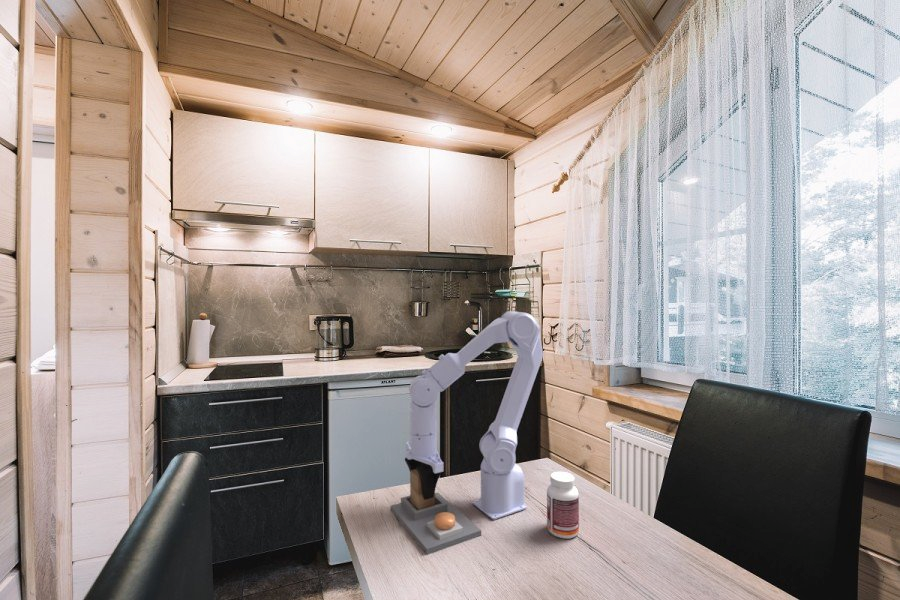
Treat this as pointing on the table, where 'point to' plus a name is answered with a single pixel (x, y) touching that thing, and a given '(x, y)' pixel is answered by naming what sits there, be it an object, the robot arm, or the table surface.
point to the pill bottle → (562, 506)
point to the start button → (444, 520)
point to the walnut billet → (418, 492)
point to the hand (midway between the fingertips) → (423, 493)
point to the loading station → (424, 524)
